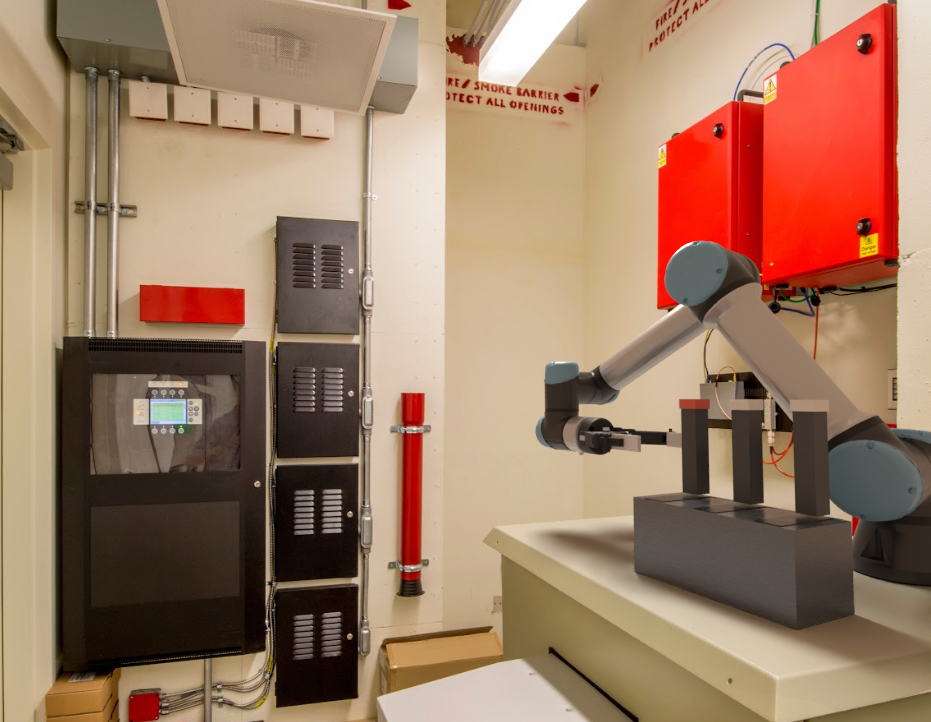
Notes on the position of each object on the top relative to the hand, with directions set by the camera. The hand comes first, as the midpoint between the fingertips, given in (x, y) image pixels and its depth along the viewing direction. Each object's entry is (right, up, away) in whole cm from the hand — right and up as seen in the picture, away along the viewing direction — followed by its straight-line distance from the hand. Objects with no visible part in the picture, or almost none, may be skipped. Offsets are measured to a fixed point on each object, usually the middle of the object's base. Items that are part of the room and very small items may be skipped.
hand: (668, 442), depth 106 cm
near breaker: (+12, -7, -24) cm, 27 cm away
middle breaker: (+7, -7, -15) cm, 18 cm away
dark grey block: (+4, -19, -17) cm, 26 cm away
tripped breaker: (+3, -8, -6) cm, 10 cm away
